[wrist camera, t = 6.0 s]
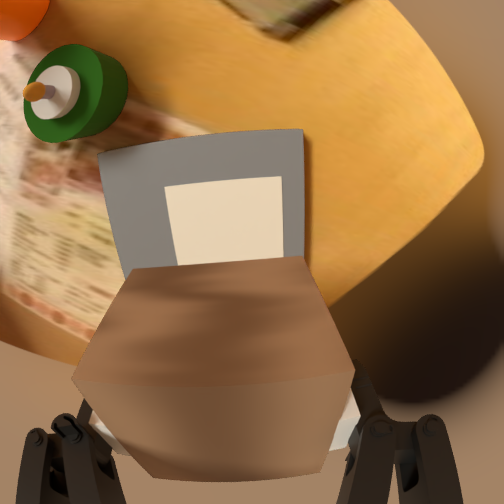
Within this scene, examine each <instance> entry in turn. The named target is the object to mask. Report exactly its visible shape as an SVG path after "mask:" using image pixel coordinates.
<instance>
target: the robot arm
mask: <svg viewBox="0 0 504 504" xmlns="http://www.w3.org/2000/svg"><path fill="white" fill-rule="evenodd" d="M351 361H352V363H353V366H354V368H355V373H354V377H353V380H352V384H351V387H350V390H349V394H348V397H347V400H346V403H345V407H344V410H343V413H342V416H341V419H340V420H339V422H338V425H337V428H336V431H335V434H334V438H333V441H332V444H331V446H330V449H329V451H331V450H335V449H340V448H344V447H346V445H347V443H349V447H350V452H349V454H348V456H347V457H346V460H345V461H347V464H346V469H345V473H344V477H343V481H342V485H341V489H340V492H339V496H338V500H337V503H336V504H387V502H388V497H389V491H390V485H391V478H392V472H393V464H395V469H396V476H397V484H398V493H399V503H400V504H463V498H462V493H461V487H460V482H459V478H458V473H457V468H456V464H455V460H454V456H453V452H452V448H451V445H450V441H449V437H448V433H447V430H446V426H445V424H444V422H443V420H442V419H441V418H440V417H438V416H436V415H433V414H431V415H430V414H429V415H425V416H423V417H421V418H420V419H419V420H418V422H397V421H395V420H392V419H390V418H389V417H388V416H387V415H386V414H385V412H384V411H383V408H382V406H381V404H380V401H379V399H378V396H377V394H376V392H375V389H374V387H373V385H372V383H371V380H370V378H369V376H368V373H367V371H366V369H365V367H364V366H363V365H362V364H361V363H360V362H359V361H358V360H357V359H356V360H351ZM51 429H52V430H53V431H54V432H55V434H47V433H46V432H45V431H44V430H43V429H41V428H34V429H32V430H31V431H30V432H29V433H28V434H27V437H26V441H25V445H24V450H23V455H22V460H21V466H20V472H19V478H18V486H17V495H16V504H126V501H125V498H124V494H123V491H122V487H121V484H120V481H119V477H118V473H117V469H116V465H115V461H114V459H113V457H112V455H111V451H112V449H113V450H114V451H115V452H117V454H122V455H128V456H131V455H130V454H129V453H128V452H127V451H126V450H125V448H124V447H123V446H122V445H121V444H120V443H119V442H118V441H117V439H116V438H115V437H114V436H113V435H112V433H111V432H110V431H109V430H108V428H107V427H106V426H105V425H104V424H103V422H102V421H101V420H100V419H99V417H98V416H97V415H96V413H95V412H94V411H93V409H92V408H91V407H90V405H89V404H88V403H87V401H86V400H85V398H84V400H83V402H82V405H81V407H80V410H79V413H78V416H77V418H75V417H74V416H73V415H71V414H68V413H63V414H61V415H58V416H57V417H56V418H55V419H54V420H53V422H52V425H51Z"/></svg>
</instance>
